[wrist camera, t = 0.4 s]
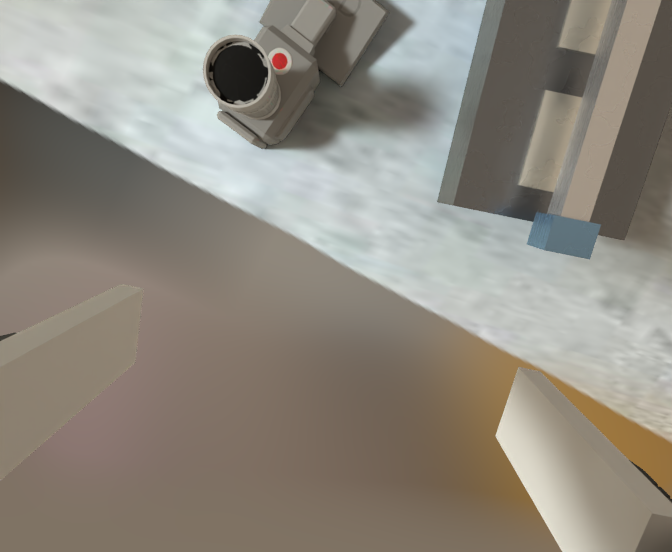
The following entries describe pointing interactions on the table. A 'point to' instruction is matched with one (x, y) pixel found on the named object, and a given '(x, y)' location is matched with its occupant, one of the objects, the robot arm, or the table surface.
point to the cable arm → (595, 130)
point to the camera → (287, 63)
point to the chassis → (550, 111)
